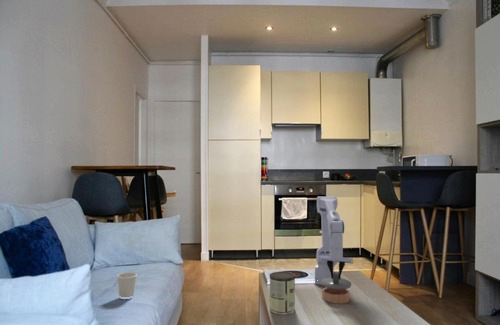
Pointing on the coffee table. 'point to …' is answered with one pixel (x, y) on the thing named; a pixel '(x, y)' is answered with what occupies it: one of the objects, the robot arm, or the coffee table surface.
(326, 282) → the lid
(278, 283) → the coffee can
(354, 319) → the coffee table surface
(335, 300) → the bowl
